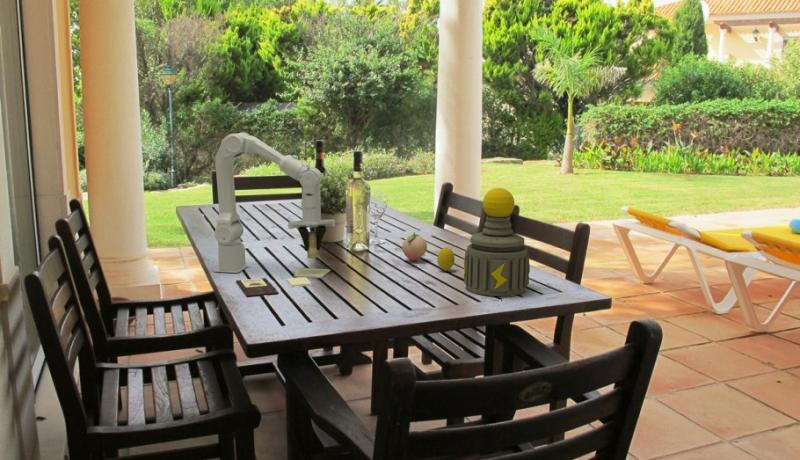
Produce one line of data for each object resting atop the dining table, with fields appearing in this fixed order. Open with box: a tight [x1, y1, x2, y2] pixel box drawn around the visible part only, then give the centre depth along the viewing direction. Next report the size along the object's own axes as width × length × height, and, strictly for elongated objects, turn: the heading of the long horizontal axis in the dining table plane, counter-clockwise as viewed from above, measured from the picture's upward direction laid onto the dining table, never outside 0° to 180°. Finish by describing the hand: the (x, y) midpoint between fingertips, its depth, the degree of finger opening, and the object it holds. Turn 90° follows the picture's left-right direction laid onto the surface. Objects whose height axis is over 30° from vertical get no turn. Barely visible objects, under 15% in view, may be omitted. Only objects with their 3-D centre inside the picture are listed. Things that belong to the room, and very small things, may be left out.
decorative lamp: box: [463, 187, 531, 298], centre depth 214 cm, size 19×19×30 cm
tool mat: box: [293, 267, 331, 279], centre depth 233 cm, size 10×9×1 cm
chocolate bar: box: [235, 277, 280, 298], centre depth 215 cm, size 9×1×18 cm
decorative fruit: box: [401, 232, 428, 262], centre depth 251 cm, size 9×8×10 cm
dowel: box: [306, 231, 318, 260], centre depth 231 cm, size 3×3×8 cm
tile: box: [286, 277, 313, 288], centre depth 222 cm, size 1×6×8 cm
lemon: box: [436, 246, 455, 272], centre depth 237 cm, size 6×6×8 cm
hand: (312, 249), depth 232 cm, fingers closed on dowel, 3 cm apart
